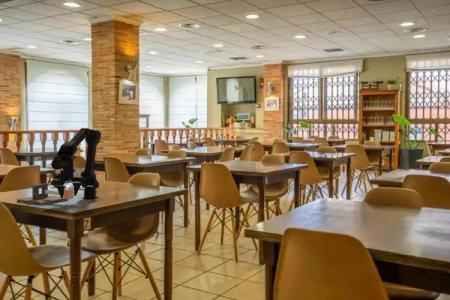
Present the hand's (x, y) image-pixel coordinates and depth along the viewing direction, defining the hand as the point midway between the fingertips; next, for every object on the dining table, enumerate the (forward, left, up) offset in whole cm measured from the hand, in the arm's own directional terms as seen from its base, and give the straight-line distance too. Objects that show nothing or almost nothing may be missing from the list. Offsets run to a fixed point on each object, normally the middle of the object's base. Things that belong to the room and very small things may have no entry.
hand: (68, 197), depth 256 cm
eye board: (0, -19, -4) cm, 19 cm away
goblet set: (-50, -49, -4) cm, 70 cm away
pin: (0, -8, -1) cm, 8 cm away
